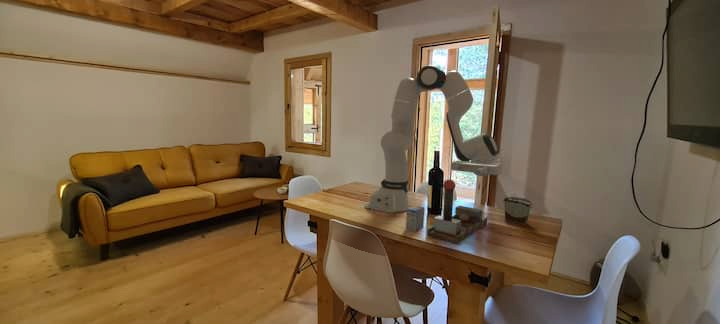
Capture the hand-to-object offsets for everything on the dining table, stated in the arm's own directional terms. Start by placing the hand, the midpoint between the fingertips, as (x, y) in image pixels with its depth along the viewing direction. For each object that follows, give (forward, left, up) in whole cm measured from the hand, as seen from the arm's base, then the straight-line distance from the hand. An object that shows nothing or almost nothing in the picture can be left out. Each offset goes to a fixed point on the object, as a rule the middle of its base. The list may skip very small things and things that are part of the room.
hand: (467, 170), depth 127 cm
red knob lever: (-5, -15, -22) cm, 27 cm away
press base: (-2, -5, -24) cm, 25 cm away
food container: (+22, +18, -24) cm, 38 cm away
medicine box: (-19, -10, -24) cm, 32 cm away
